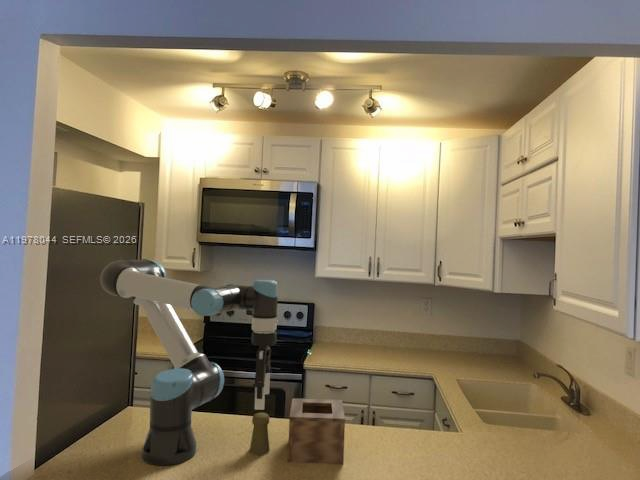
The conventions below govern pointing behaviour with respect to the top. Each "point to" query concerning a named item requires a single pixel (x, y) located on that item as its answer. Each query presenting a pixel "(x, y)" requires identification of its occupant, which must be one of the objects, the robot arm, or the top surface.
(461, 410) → the top surface
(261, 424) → the cork
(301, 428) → the walnut box
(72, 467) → the top surface
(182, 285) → the robot arm
